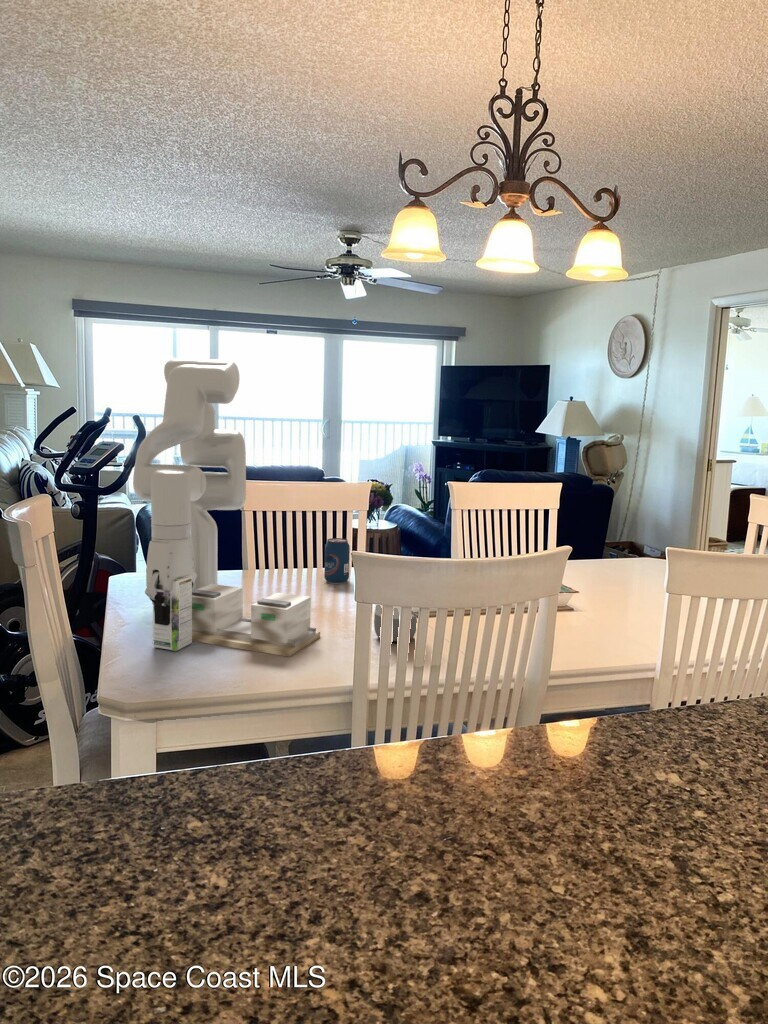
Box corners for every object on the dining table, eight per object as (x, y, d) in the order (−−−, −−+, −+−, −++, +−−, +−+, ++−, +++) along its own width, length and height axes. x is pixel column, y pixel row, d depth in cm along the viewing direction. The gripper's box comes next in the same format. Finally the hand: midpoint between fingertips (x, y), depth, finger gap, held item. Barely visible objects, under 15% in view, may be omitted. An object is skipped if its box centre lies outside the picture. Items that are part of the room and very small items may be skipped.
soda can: (319, 581, 207) (320, 539, 206) (334, 577, 213) (335, 536, 211) (338, 585, 203) (339, 543, 202) (353, 581, 209) (354, 539, 207)
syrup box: (152, 647, 148) (150, 577, 146) (170, 639, 153) (169, 571, 151) (176, 651, 146) (175, 580, 144) (193, 642, 151) (192, 574, 149)
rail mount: (171, 637, 155) (170, 593, 154) (208, 620, 168) (208, 579, 167) (289, 656, 146) (290, 609, 144) (320, 636, 159) (321, 593, 157)
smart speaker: (422, 644, 156) (425, 579, 154) (380, 646, 153) (382, 581, 151) (408, 630, 165) (410, 569, 163) (368, 633, 162) (370, 571, 160)
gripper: (181, 523, 155) (182, 606, 158) (126, 537, 139) (128, 629, 142) (212, 526, 153) (212, 611, 156) (159, 541, 137) (161, 634, 140)
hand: (172, 618), depth 149 cm, fingers closed on syrup box, 5 cm apart
